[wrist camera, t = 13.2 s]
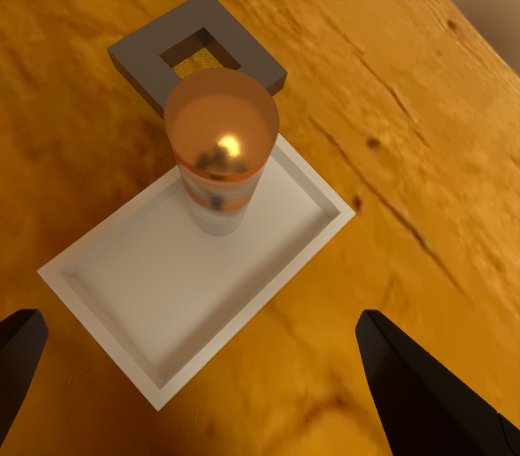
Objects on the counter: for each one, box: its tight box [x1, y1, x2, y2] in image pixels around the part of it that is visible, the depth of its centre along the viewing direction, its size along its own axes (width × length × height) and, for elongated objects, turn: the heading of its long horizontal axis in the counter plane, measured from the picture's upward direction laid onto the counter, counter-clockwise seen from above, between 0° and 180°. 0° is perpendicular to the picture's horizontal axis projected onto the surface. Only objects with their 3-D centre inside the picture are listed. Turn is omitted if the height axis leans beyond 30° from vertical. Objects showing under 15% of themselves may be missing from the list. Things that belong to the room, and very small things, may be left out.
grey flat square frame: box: [107, 0, 288, 119], centre depth 24 cm, size 10×10×2 cm
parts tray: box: [36, 133, 356, 411], centre depth 21 cm, size 11×18×3 cm, turn 133°
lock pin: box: [164, 68, 279, 236], centre depth 16 cm, size 4×4×13 cm
